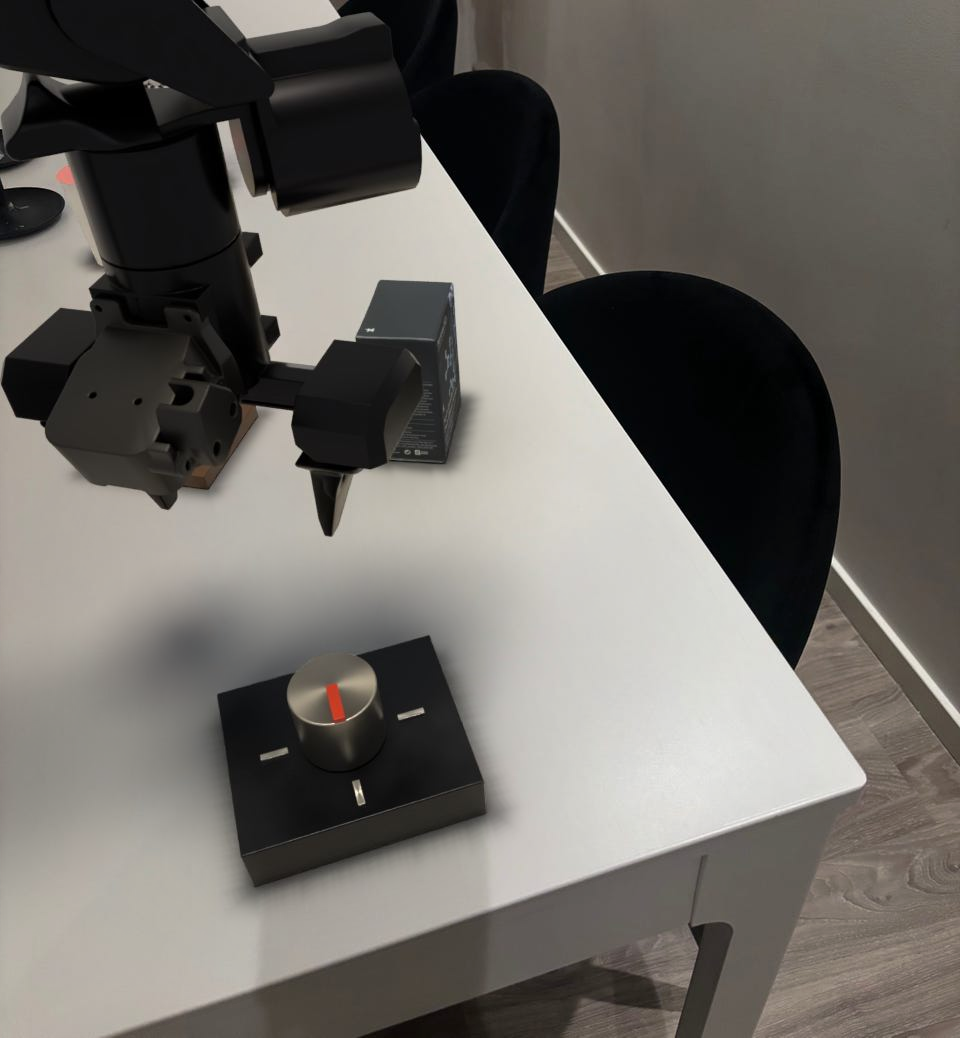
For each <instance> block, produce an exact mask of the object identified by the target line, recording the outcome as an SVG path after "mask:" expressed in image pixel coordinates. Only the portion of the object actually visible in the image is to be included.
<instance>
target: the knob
mask: <svg viewBox="0 0 960 1038" xmlns="http://www.w3.org/2000/svg"><path fill="white" fill-rule="evenodd" d="M355 655H356V654H355ZM355 655H354V654H351V653H347V652H330V653H324V654H322V655H318V656H316V657H314V658H313V657H312V658H311V659H310V660H308V661H306V662H305V663H303V664H302V665H301V666H300V667H299V668H298V669H297V670H296V671H294V672H295V674H294V675H293V677H292V679H291V680H290V683H289V685H288V689H287V701H288V704H289V708H290V711H291V714H292V717H293V721H294V724H295V727H296V730H297V734H298V737H299V740H300V743H301V747H302V750H303V752H304V754H305V756H306V757H307V758H308V759H309V761H310V762H312V763H313V764H314V765H316V766H318V767H320V768H322V769H325V770H329V771H347V770H351V769H354V768H357V767H360V766H362V765H364V764H365V763H367V762H368V761H369V760H371V759H372V758H373V757H374V756H375V755H376V754H377V753H378V751H379V750H380V748H381V747H382V745H383V743H384V740H385V736H386V724H385V719H384V714H383V709H382V704H381V699H380V694H379V689H378V684H377V679H376V675H375V672H374V671H373V669H372V667H371V666H370V665H369V664H368V663H367V662H366V661H364V660H363V659H361V658H359V657H357V656H355Z"/></svg>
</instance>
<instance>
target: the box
mask: <svg viewBox="0 0 960 1038" xmlns="http://www.w3.org/2000/svg"><path fill="white" fill-rule="evenodd" d="M455 303H456V302H455V287H454V283H453V282H451V281H450V282H448V281H427V280H400V279H399V280H398V279H380V280H378V281H377V282H376V286H375V290H374V292H373V295H372V297H371V300H370V302H369V305H368V307H367V310H366V311H365V314H364V316H363V319H362V321H361V323H360V325H359V327H358V330H357V332H355V333H356V334H355V335H354V339H355V342H362V343H371V344H379V345H388V346H396V347H404V348H406V349H407V350H408V351H410V352H411V353H412V354H413V355H414V356H415V358H416V359H417V361H418V362H419V364H420V365H421V372H422V382H423V392H424V396H423V397H422V399H421V401H420V403H419V405H418V407H417V409H416V411H415V413H414V414H413V416H412V418H411V420H410V422H409V424H408V426H407V428H406V429H405V431H404V433H403V435H402V437H401V439H400V441H399V443H398V445H397V446H396V448H395V450H394V452H393V454H392V456H391V458H390V460H389V461H391V460H394V461H407V462H408V461H409V462H422V463H423V462H426V463H440V464H441V463H444V462H445V461H446V460H447V456H448V453H449V448H450V445H451V441H452V436H453V432H454V429H455V425H456V421H457V417H458V413H459V411H460V410H459V409H460V406H461V404H462V391H461V378H460V377H461V376H460V362H459V361H460V360H459V350H458V349H459V348H458V334H457V333H458V332H457V321H456V320H457V319H456V306H455Z"/></svg>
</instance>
